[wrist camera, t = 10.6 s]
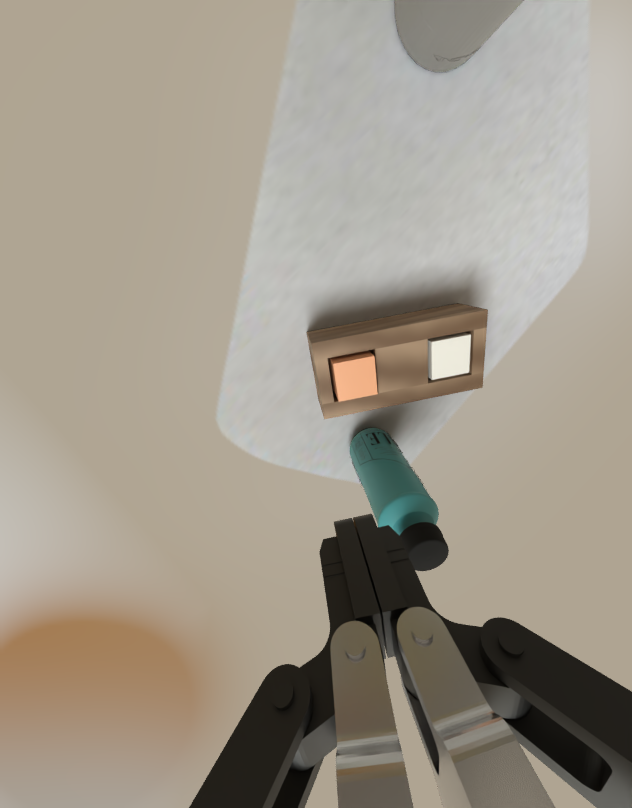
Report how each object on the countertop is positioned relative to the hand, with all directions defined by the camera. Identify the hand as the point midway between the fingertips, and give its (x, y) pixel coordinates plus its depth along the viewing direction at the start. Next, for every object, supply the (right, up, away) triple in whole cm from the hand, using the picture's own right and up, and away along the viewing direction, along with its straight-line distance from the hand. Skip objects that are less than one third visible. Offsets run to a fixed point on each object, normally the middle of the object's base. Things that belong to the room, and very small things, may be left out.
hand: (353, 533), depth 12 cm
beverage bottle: (+6, 0, +33) cm, 34 cm away
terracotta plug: (+2, +10, +26) cm, 28 cm away
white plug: (+13, +12, +27) cm, 32 cm away
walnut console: (+7, +12, +28) cm, 31 cm away
